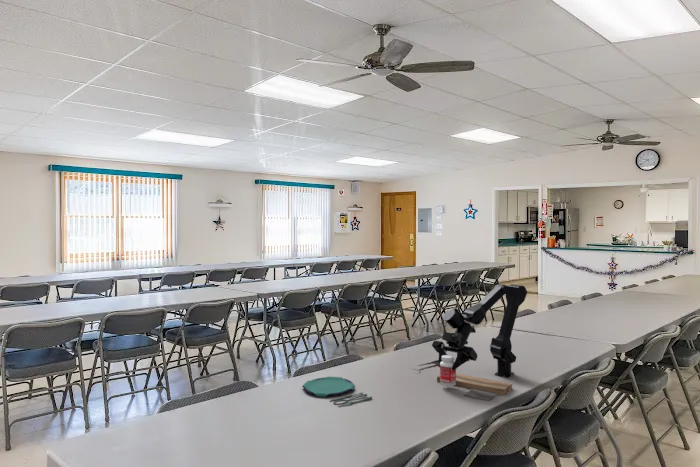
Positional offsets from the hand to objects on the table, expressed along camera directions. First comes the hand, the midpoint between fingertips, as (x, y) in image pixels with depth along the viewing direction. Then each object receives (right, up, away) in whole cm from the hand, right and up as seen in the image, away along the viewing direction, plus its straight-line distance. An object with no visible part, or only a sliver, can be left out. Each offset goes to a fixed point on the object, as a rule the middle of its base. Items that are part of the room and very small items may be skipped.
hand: (445, 368), depth 190 cm
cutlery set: (-44, -10, -1) cm, 45 cm away
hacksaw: (-1, -9, +31) cm, 32 cm away
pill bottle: (+1, -7, +1) cm, 7 cm away
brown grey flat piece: (+9, -8, +1) cm, 12 cm away
